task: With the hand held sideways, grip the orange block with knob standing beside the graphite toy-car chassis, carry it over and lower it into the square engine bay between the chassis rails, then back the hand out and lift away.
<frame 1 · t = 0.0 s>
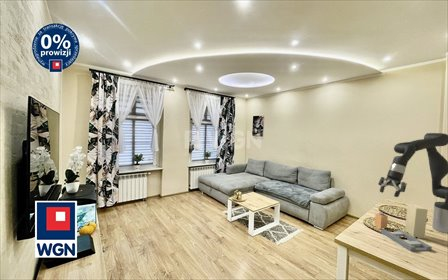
hand: (388, 194, 122), 31 cm above the table, tool tilted 20°, fingers open, 8 cm apart
orange block with knob: (380, 227, 140), on the table
toy refrigerator: (415, 235, 130), on the table
chassis: (404, 240, 123), on the table
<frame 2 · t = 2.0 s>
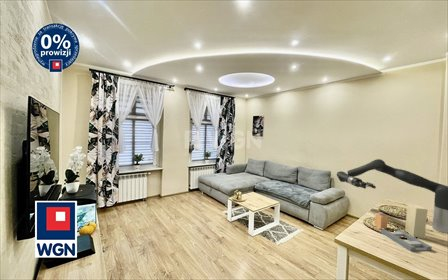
hand: (370, 187, 149), 27 cm above the table, tool horizontal, fingers open, 8 cm apart
nothing on the table moved.
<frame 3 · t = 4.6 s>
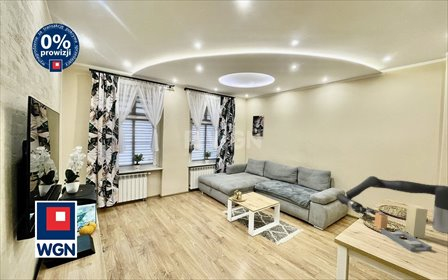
hand: (370, 214, 149), 6 cm above the table, tool horizontal, fingers open, 8 cm apart
nothing on the table moved.
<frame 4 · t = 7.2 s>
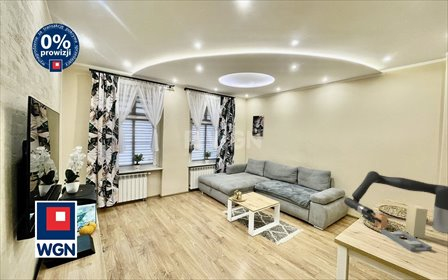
hand: (384, 221, 137), 6 cm above the table, tool horizontal, fingers closed on orange block with knob, 5 cm apart
orange block with knob: (380, 227, 140), on the table, touching gripper
everything else where it was.
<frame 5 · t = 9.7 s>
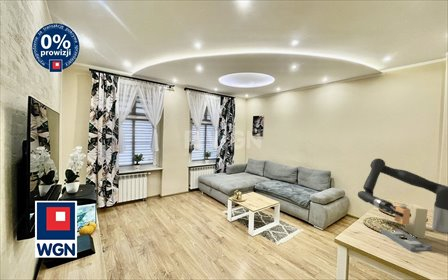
hand: (406, 215, 121), 18 cm above the table, tool horizontal, fingers closed on orange block with knob, 5 cm apart
orange block with knob: (401, 222, 124), point 12 cm above the table, touching gripper
everything else where it was.
when the fingers open (7 cm above the table, at t = 12.4 s): orange block with knob drops 1 cm, resting in chassis.
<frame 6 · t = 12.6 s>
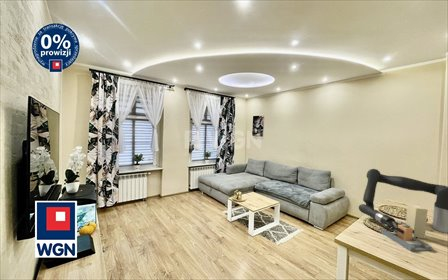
hand: (408, 232, 120), 7 cm above the table, tool horizontal, fingers open, 6 cm apart
orange block with knob: (404, 241, 123), resting in chassis
everything else where it was.
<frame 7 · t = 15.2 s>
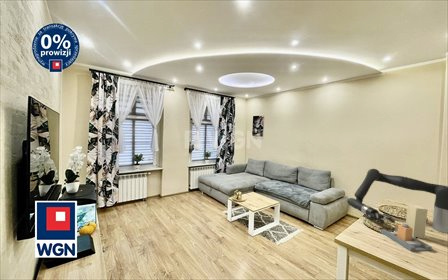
hand: (388, 221, 133), 8 cm above the table, tool horizontal, fingers open, 8 cm apart
nothing on the table moved.
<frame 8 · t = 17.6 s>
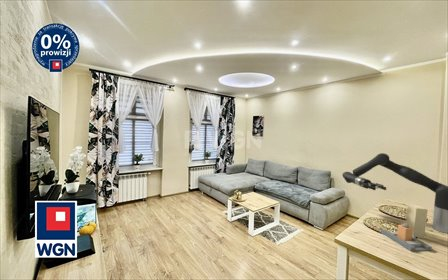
hand: (380, 188, 138), 30 cm above the table, tool horizontal, fingers open, 8 cm apart
nothing on the table moved.
at the end: orange block with knob 0.0 cm off-centre on the chassis, point 0.0 cm above the chassis's base; orange block with knob tilted 0°; the gripper is holding nothing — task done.
